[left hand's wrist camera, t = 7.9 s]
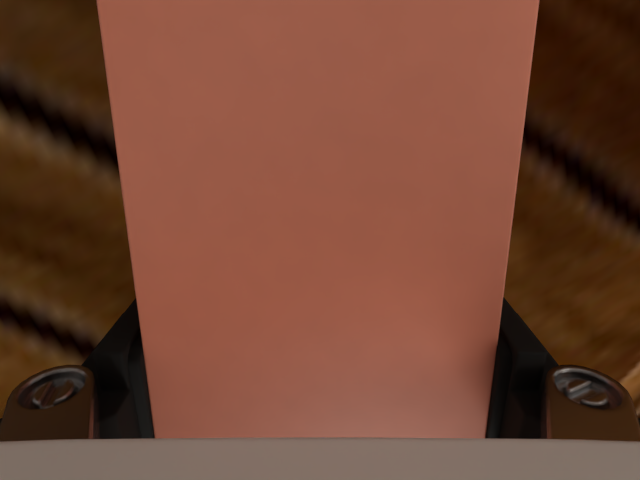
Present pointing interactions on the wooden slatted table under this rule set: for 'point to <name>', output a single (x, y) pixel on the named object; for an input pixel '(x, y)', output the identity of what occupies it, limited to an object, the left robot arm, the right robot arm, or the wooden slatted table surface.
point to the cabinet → (319, 208)
